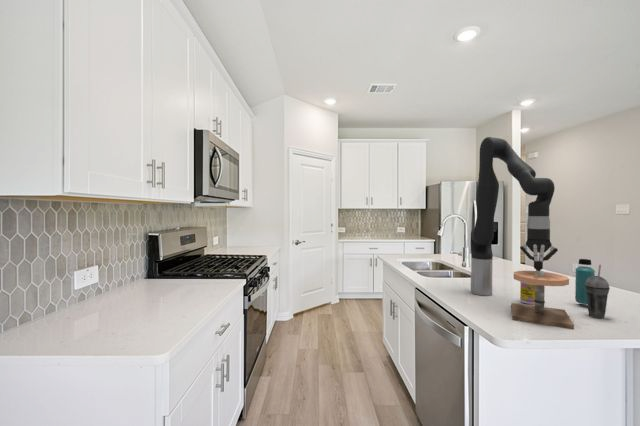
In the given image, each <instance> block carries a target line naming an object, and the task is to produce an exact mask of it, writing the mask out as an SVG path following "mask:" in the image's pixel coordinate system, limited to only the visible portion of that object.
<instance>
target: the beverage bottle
mask: <svg viewBox="0 0 640 426" xmlns="http://www.w3.org/2000/svg"><path fill="white" fill-rule="evenodd" d="M578 264H579V265H581V266H578V267H576V268H575V294H574V299H575V302H576V303H579V304H582V305H587V306H588V303H587V293H586V289H585V282H586V280H587V279H588V278H589V277H592V276H596V275H595V273H596V272H595V269H593V267H589V266H592V260H591V259H590V258H589V259H587V258H579V259H578ZM582 265H585V266H582Z"/></svg>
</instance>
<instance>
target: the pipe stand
mask: <svg viewBox="0 0 640 426" xmlns="http://www.w3.org/2000/svg"><path fill="white" fill-rule="evenodd" d="M534 271H535V276H545V272H546V271H543V270H541V271H536V270H534ZM545 287H546V286H543V285H535V299H534V302H535V304H534V305H533V304H525V303H524V304H523V303H515V302H511V304H510V306H511V308H512V309H511V317H512V320H513V321H517V320H520V321H519V322H524V321H525V322H526V323H530V322H531V323H532V324H537V325H545V326H551V327H556V328H557V327H558V328H564V329H569V330H574V329H575V324H574V323H573V321H572V319H571V318H570V315H568V312H567V311H566V309H563V308H561V309H560V308H553V307H546V306H545V304H546V301H545Z"/></svg>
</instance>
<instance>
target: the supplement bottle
mask: <svg viewBox="0 0 640 426" xmlns="http://www.w3.org/2000/svg"><path fill="white" fill-rule="evenodd" d="M519 292H520V297H519V298H520V299H519V300H520V302H521V303H522V304H523V303H524V304H525V305H535V302H534V299H535V285H534V284H529V283H524V282H520V291H519Z"/></svg>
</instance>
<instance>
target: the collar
mask: <svg viewBox="0 0 640 426" xmlns="http://www.w3.org/2000/svg"><path fill="white" fill-rule="evenodd" d="M535 271H536V270H517V271H513V280H515V281H518V282H520V283H521V282H524V283H529V284H534V285H543V286H545V287H565V286H568V285H570V278H569V277H568V276H567V275H566V276H565V275H562V274H559V273H553V272H548V271H544V272H545V276H535Z"/></svg>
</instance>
